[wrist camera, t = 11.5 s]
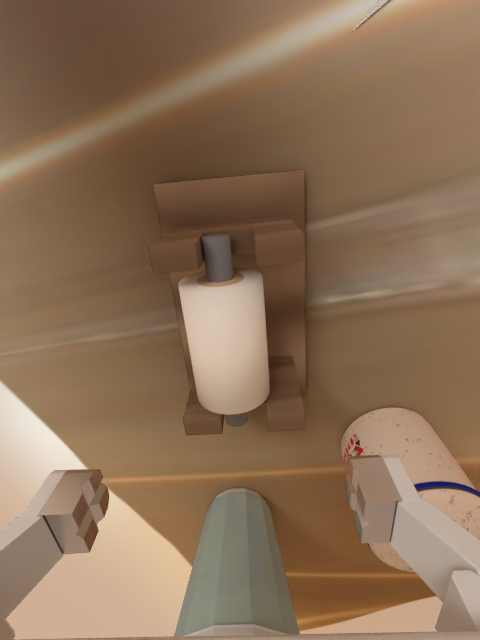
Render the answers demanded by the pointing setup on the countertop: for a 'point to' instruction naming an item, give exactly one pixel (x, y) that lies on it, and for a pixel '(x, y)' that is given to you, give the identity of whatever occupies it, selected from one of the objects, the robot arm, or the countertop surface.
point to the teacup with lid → (415, 467)
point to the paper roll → (226, 332)
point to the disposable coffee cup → (237, 573)
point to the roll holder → (247, 252)
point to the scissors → (373, 10)
